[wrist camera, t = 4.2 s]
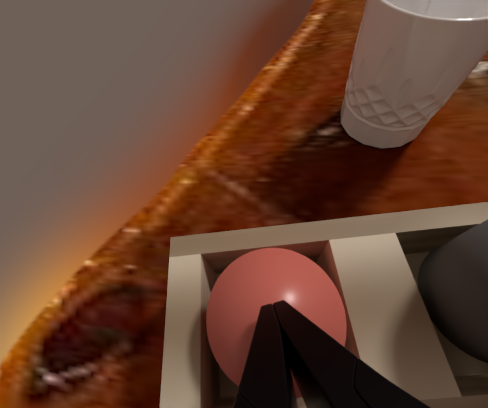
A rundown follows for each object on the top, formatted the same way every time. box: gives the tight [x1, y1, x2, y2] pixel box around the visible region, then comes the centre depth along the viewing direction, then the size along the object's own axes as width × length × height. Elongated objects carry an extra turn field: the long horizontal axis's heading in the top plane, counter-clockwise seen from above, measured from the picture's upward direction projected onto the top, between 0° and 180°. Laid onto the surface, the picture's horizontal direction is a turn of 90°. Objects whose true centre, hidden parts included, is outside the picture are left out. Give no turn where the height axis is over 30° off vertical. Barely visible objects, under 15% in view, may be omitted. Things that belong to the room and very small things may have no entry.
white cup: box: [341, 0, 488, 149], centre depth 18 cm, size 8×8×10 cm
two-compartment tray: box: [160, 202, 488, 408], centre depth 12 cm, size 10×18×6 cm, turn 95°
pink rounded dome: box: [206, 248, 347, 399], centre depth 11 cm, size 5×5×4 cm
